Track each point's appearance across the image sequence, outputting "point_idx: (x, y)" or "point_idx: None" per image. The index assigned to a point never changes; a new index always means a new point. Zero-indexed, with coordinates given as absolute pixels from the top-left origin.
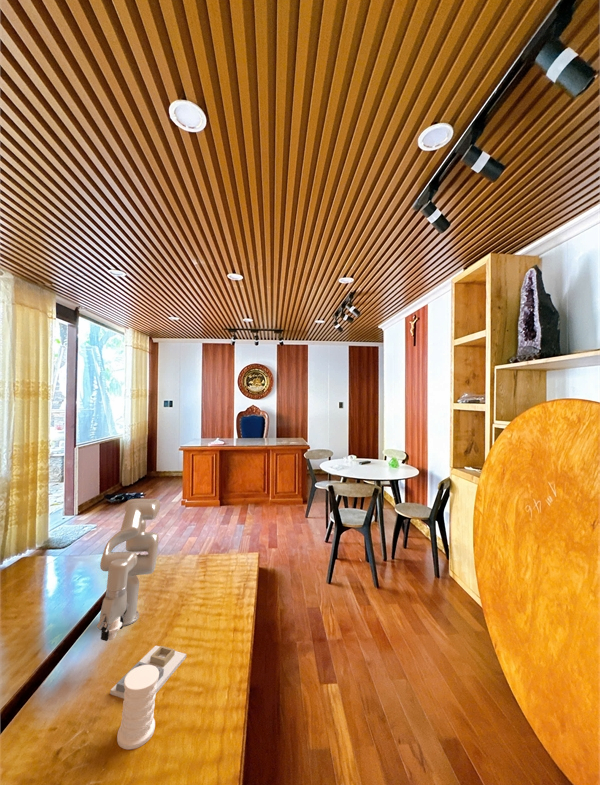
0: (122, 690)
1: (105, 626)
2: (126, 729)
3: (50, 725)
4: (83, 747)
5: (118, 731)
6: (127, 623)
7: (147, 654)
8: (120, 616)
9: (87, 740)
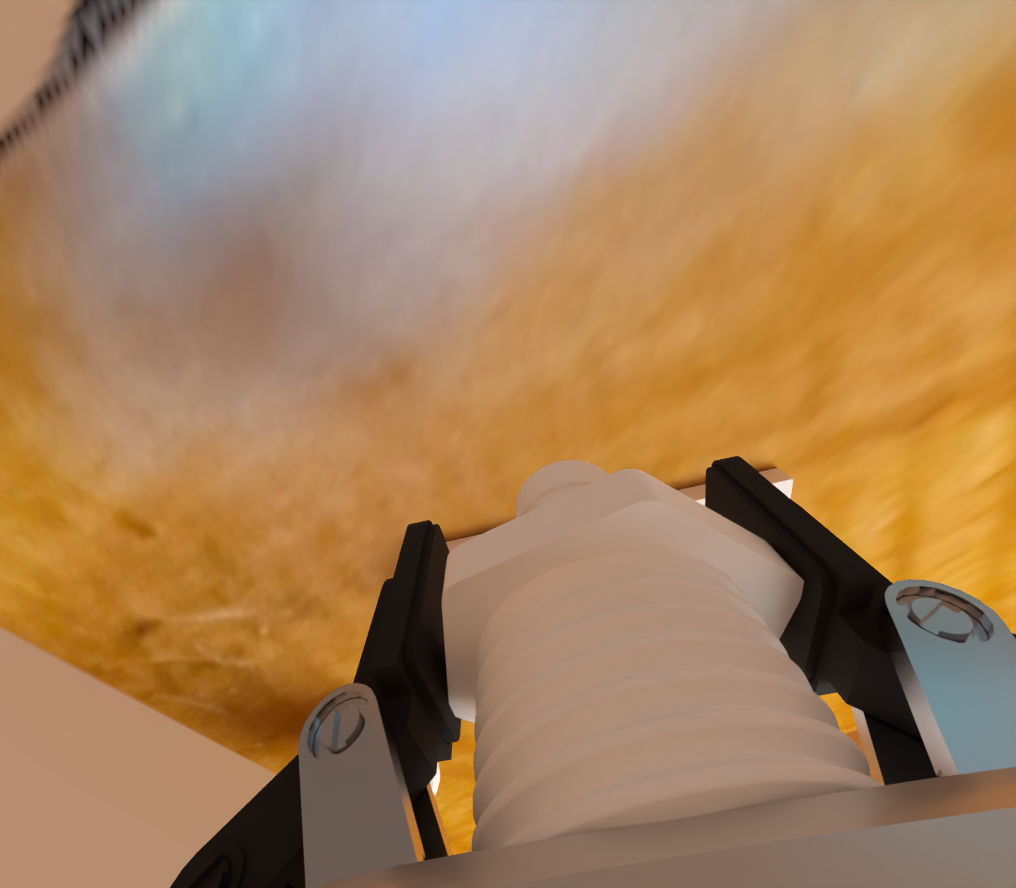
0: None
1: (508, 596)
2: None
3: (124, 500)
4: (228, 667)
5: None
6: None
7: (704, 503)
8: (895, 695)
9: (249, 656)
